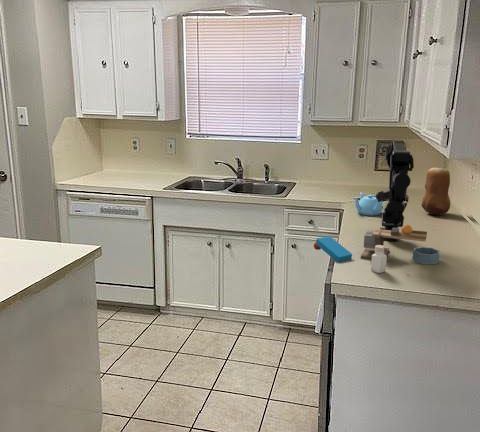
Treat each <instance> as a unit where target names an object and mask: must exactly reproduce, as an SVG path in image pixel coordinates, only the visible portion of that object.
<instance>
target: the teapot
mask: <svg viewBox="0 0 480 432" xmlns="http://www.w3.org/2000/svg"><path fill="white" fill-rule="evenodd" d="M359 195H360V198H359V199H358V198H357V197H353V200H355V202H354V204H355V209H356V212H358V213H359V214H360V215H363V216H371V217H372V216H378V215H380V214H382V213H383V210H384V206H383V201H384V200H383V201H381V202H378V201H377V199H376V196H373V194H367V196H364V193H363V192H361V191H360V192H359Z"/></svg>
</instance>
